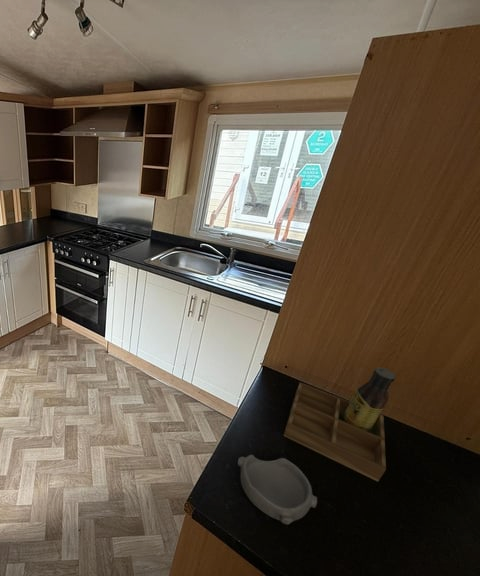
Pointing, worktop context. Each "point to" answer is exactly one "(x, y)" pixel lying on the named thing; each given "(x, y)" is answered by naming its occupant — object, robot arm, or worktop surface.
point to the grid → (336, 432)
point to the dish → (276, 488)
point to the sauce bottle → (369, 400)
